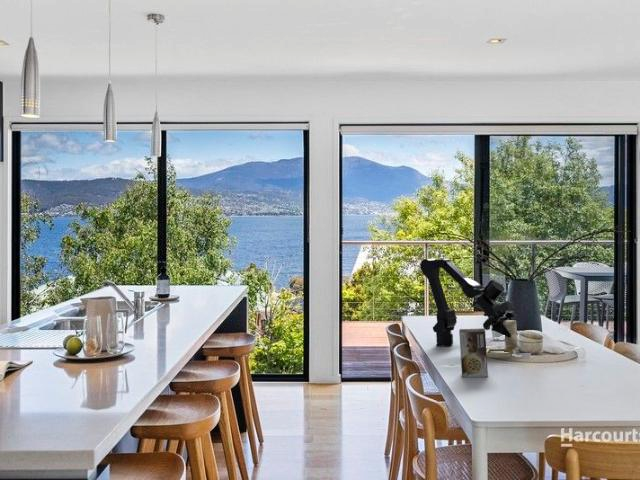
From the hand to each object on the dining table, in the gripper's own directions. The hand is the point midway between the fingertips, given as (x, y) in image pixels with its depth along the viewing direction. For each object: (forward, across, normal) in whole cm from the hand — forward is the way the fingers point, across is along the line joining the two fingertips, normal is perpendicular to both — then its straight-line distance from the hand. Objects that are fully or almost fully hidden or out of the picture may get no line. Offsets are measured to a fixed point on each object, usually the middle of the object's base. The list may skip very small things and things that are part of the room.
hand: (513, 336), depth 273 cm
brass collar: (+4, -11, +5) cm, 12 cm away
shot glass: (-10, +24, +20) cm, 33 cm away
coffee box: (+11, -43, -1) cm, 44 cm away
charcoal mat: (+2, -5, +7) cm, 9 cm away
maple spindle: (+3, 0, +5) cm, 6 cm away
